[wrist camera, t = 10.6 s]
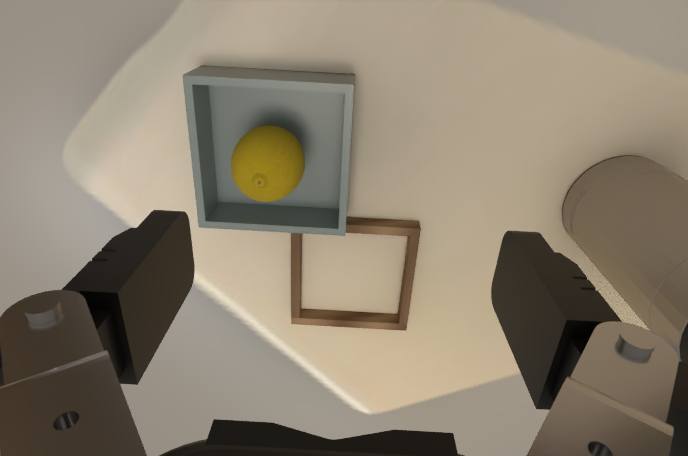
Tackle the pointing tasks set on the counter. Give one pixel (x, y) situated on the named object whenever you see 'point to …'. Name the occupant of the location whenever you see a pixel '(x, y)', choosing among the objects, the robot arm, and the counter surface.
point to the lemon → (267, 163)
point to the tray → (359, 318)
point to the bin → (277, 110)
